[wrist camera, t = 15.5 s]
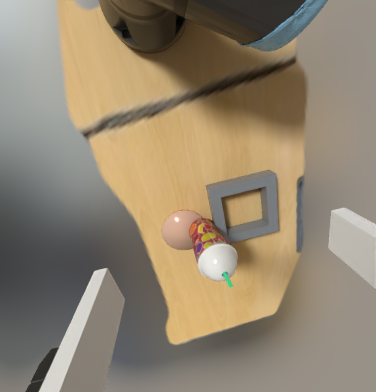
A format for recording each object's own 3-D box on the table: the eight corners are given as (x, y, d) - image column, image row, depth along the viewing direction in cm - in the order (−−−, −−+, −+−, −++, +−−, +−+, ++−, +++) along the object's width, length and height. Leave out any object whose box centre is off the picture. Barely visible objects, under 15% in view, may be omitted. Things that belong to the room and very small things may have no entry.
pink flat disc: (156, 216, 50) (156, 217, 49) (201, 205, 50) (202, 205, 49) (168, 253, 54) (168, 254, 54) (209, 242, 54) (210, 243, 54)
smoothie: (218, 234, 53) (257, 292, 35) (190, 245, 53) (214, 311, 34) (211, 208, 50) (248, 258, 32) (180, 220, 50) (201, 278, 31)
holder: (205, 185, 48) (208, 190, 45) (268, 169, 48) (276, 173, 45) (216, 238, 54) (219, 245, 51) (272, 224, 54) (278, 231, 51)
